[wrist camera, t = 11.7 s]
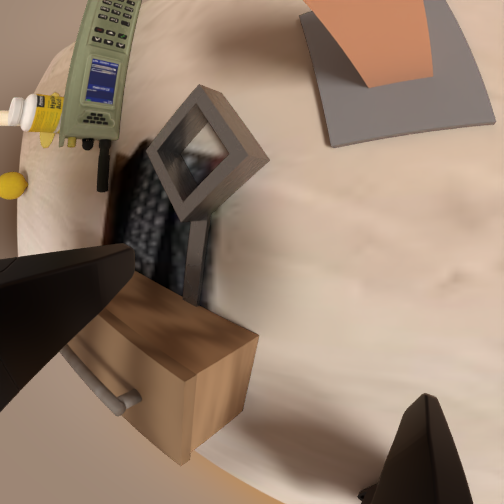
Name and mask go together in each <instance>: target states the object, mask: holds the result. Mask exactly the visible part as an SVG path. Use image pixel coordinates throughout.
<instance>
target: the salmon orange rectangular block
mask: <svg viewBox="0 0 504 504" xmlns="http://www.w3.org/2000/svg"><path fill="white" fill-rule="evenodd" d="M303 1H304V2H305V3H306V4H307V5H308V6H309V8H310V9H311V10H312V11H313V12H314V14H315V15H316V16H317V17H318V18H319V20H320V21H321V22H322V23H323V25H324V26H325V27H326V28H327V30H328V31H329V32H330V33H331V35H332V36H333V37H334V39H335V40H336V41H337V43H338V44H339V45H340V47H341V48H342V49H343V51H344V52H345V54H346V55H347V56H348V58H349V59H350V61H351V62H352V64H353V65H354V66H355V68H356V69H357V71H358V72H359V74H360V75H361V77H362V78H363V80H364V82H365V83H366V85H367V86H368V88H372V87H377V86H382V85H387V84H392V83H397V82H403V81H408V80H414V79H421V78H427V77H433V65H432V55H431V46H430V38H429V31H428V25H427V18H426V13H425V7H424V2H423V0H303Z"/></svg>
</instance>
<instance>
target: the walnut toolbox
mask: <svg viewBox="0 0 504 504" xmlns="http://www.w3.org/2000/svg"><path fill="white" fill-rule="evenodd" d="M182 299H183V297H182V296H180V295H178V294H176V293H174V292H172V291H171V290H169V289H167V288H165V287H163V286H161V285H160V284H158V283H156V282H154V281H152V280H151V279H149V278H147V277H145V276H144V275H142V274H140V273H138V272H136V271H135V272H134V275H133V277H132V278H131V279H130V281H129V282H128V283H127V284H126V285H125V286H124V287H123V288H122V289H121V290H120V292H119V293H118V294H117V295H116V296H115V297H114V298H113V299H112V300H111V302H110V303H109V304H108V305H107V306H106V307H105V308H104V309H103V310H102V311H101V312H100V313H99V314H98V315H97V316H96V317H95V318H94V319H93V320H92V321H91V322H90V323H89V324H87V325H86V326H85V327H84V328H83V329H82V330H81V331H80V332H79V333H78V334H77V335H76V336H75V337H74V338H73V339H72V340H71V341H70V342H68V343H67V344H66V345H65V346H64V347H63V348H62V349H61V350H60V351H59V352H60V353H61V354H62V356H63V357H64V358H65V359H66V361H67V362H68V363H69V364H70V366H71V367H72V368H73V369H74V371H75V372H76V373H77V374H78V375H79V376H80V378H81V379H82V380H83V381H84V382H85V383H86V385H87V386H88V387H89V388H90V389H91V390H92V391H93V392H94V393H95V395H96V396H97V397H98V398H99V399H100V400H101V401H102V402H103V403H104V404H105V405H106V406H107V407H108V408H109V409H110V410H111V411H112V412H113V413H114V414H115V415H116V416H120V415H122V416H123V417H124V418H125V419H126V420H127V421H128V422H129V423H130V424H131V425H132V426H133V427H135V428H136V429H137V430H138V431H139V432H140V433H141V434H142V435H143V436H145V437H146V438H147V439H148V440H149V441H150V442H152V443H153V444H154V445H155V446H156V447H157V448H159V449H160V450H161V451H162V452H163V453H165V454H166V455H167V456H168V457H170V458H171V459H172V460H173V461H175V462H176V463H177V464H179V465H180V466H182V465H183V464H184V463H186V462H187V461H188V460H190V454H191V452H192V451H193V450H194V449H196V448H197V447H198V446H200V445H201V444H202V443H204V442H205V441H206V440H207V439H209V438H210V437H211V436H213V435H214V434H215V433H216V432H218V431H219V430H220V429H221V428H223V427H224V426H225V425H226V424H228V423H229V422H230V421H231V420H232V419H234V418H235V417H236V416H237V415H238V414H240V413H241V412H242V411H243V406H244V402H245V397H246V393H247V389H248V384H249V380H250V375H251V371H252V366H253V362H254V357H255V352H256V348H257V343H258V339H259V335H257V334H255V333H253V332H251V331H249V330H247V329H245V328H243V327H241V326H239V325H237V324H234V323H232V322H230V321H228V320H226V319H224V318H222V317H220V316H218V315H216V314H214V313H212V312H211V311H209V310H207V309H205V308H203V307H201V306H198V307H195V306H193V305H191V304H190V303H188V302H186V301H184V300H182Z"/></svg>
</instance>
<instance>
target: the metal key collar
mask: <svg viewBox="0 0 504 504" xmlns="http://www.w3.org/2000/svg"><path fill="white" fill-rule="evenodd" d="M208 122H209V123H210V125H211V126H212V128H213V129H214V131H215V132H216V134H217V135H218V137H219V138H220V140H221V141H222V143H223V144H224V146H225V148H226V149H227V151H228V152H229V155H228V156H227V157H226V158H225V159H224V160H223V161H222V162H221V163H220V164H219V165H218V166H217V167H216V168H215V169H214V170H213V171H212V172H211V173H210V174H209V175H208V176H207V177H206V178H205V179H204V181H203V182H202V183H201V184H200V185H199V186H198V185H197V183H196V182H195V180H194V178H193V176H192V174H191V173H190V171H189V169H188V167H187V165H186V163H185V162H184V160H183V158H182V156H181V154H180V153H181V152H182V151H183V150H184V149H185V148H186V146H187V145H188V144H189V143H190V142H191V141H192V139H193V138H194V137H195V136H196V135H197V134H198V133H199V132H200V130H201V129H202V128H203V127H204V126H205V125H206V124H207V123H208ZM146 152H147V154H148V156H149V158H150V160H151V162H152V164H153V167H154V169H155V171H156V173H157V175H158V177H159V179H160V181H161V183H162V185H163V187H164V189H165V191H166V193H167V195H168V197H169V199H170V201H171V203H172V205H173V207H174V209H175V211H176V213H177V215H178V217H179V219H180V221H181V222H191V226H190V234H189V243H188V251H187V260H186V269H185V279H184V289H183V299H182V300H184V301H186V302H188V303H190V304H191V305H193V306H195V307H198V306H200V298H201V289H202V281H203V273H204V265H205V258H206V250H207V243H208V235H209V228H210V221H211V215H212V213H213V212H214V211H215V210H216V209H217V208H218V207H219V206H220V205H222V204H223V203H224V202H225V201H226V200H227V199H228V198H229V197H230V196H231V195H232V194H233V193H234V192H235V191H237V190H238V189H239V188H240V187H241V186H242V185H243V184H244V183H245V182H246V181H247V180H249V179H250V178H251V177H252V176H253V175H254V174H255V173H256V172H257V171H258V170H260V169H261V168H262V167H263V166H264V165H265V164H266V163H267V162H269V161H270V160H269V158H268V157H267V155H266V154H265V152H264V151H263V150H262V148H261V147H260V145H259V144H258V142H257V141H256V140H255V138H254V137H253V135H252V134H251V132H250V131H249V130H248V128H247V127H246V125H245V124H244V123H243V121H242V120H241V119H240V117H239V116H238V114H237V113H236V112H235V110H234V109H233V108H232V106H231V105H230V104H229V102H228V101H227V100H226V98H225V97H224V96H223V94H222V93H220V92H218V91H215V90H213V89H210V88H208V87H205V86H203V85H200V84H199V85H198V86H197V87H196V88H195V90H194V91H193V92H192V93H191V94H190V95H189V97H188V98H187V99H186V100H185V101H184V103H183V104H182V105H181V106H180V107H179V109H178V110H177V111H176V112H175V114H174V115H173V116H172V117H171V119H170V120H169V121H168V122H167V124H166V125H165V126H164V127H163V129H162V130H161V131H160V133H159V134H158V135H157V137H156V138H155V139H154V141H153V142H152V143H151V145H150V146H149V147H148V149H147V150H146Z"/></svg>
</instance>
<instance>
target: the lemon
mask: <svg viewBox="0 0 504 504" xmlns="http://www.w3.org/2000/svg"><path fill="white" fill-rule="evenodd" d="M27 186H28V183H27V182H26V181H25V178H24V177H23V175H21V174H20V173H17V172H8V173H5V174H3V175H1V176H0V197H2V198H4V199H15V198H18V197H20V196H21V195H22V194H23V192H24V190H25V188H26V187H27Z"/></svg>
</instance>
